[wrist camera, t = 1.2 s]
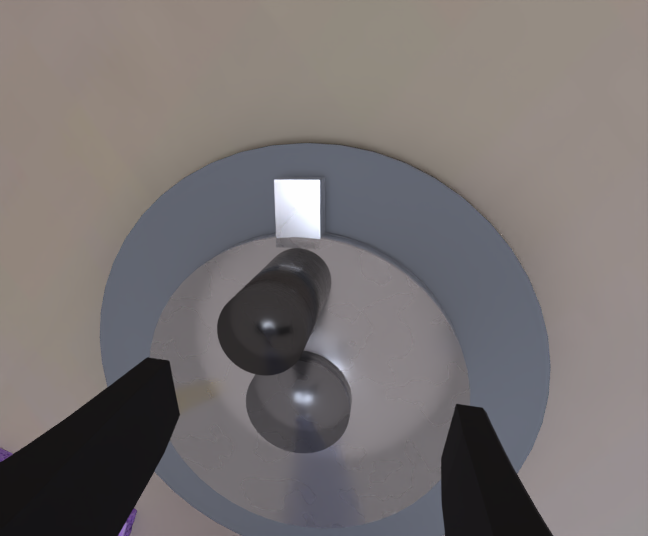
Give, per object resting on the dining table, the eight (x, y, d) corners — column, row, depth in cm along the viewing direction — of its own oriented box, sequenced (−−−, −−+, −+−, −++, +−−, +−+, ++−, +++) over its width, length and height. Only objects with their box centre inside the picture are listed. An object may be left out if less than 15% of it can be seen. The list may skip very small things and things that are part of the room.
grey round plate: (513, 560, 27) (533, 630, 23) (140, 511, 30) (104, 565, 26) (573, 142, 20) (614, 142, 16) (88, 143, 24) (28, 144, 20)
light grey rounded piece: (453, 522, 24) (476, 680, 17) (178, 489, 27) (98, 616, 20) (485, 178, 19) (536, 200, 12) (142, 175, 22) (18, 193, 15)
